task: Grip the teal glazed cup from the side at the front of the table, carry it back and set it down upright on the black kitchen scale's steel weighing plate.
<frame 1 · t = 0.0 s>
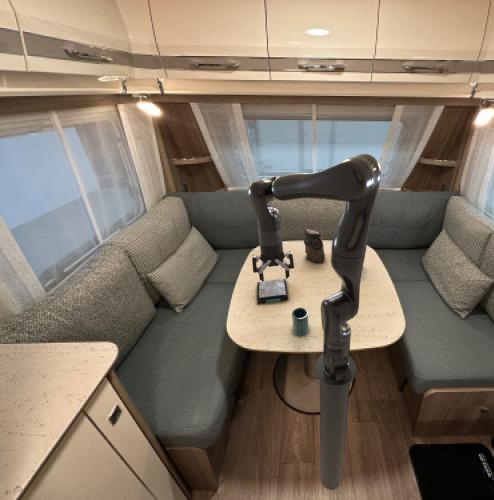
hand: (275, 278, 96), 31 cm above the table, tool pointing down, fingers open, 8 cm apart
owl: (317, 258, 167), on the table
cup: (300, 330, 116), on the table
mug: (355, 269, 156), on the table
scale: (272, 292, 138), on the table
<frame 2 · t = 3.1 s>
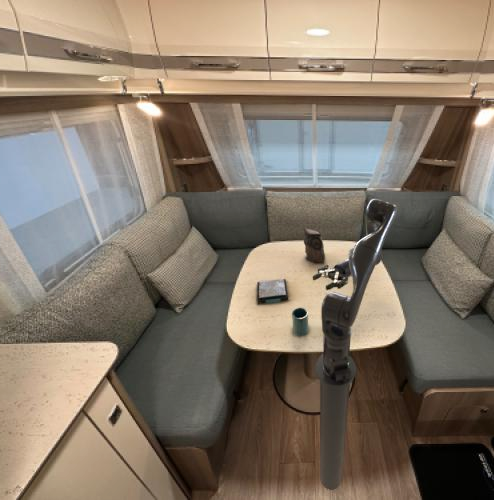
hand: (319, 283, 112), 20 cm above the table, tool horizontal, fingers open, 8 cm apart
nothing on the table moved.
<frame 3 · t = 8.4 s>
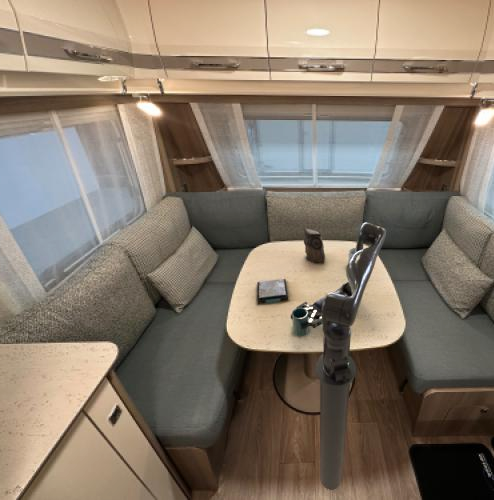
hand: (296, 322, 112), 6 cm above the table, tool horizontal, fingers closed on cup, 6 cm apart
cup: (300, 330, 116), on the table, touching gripper
everything else where it was.
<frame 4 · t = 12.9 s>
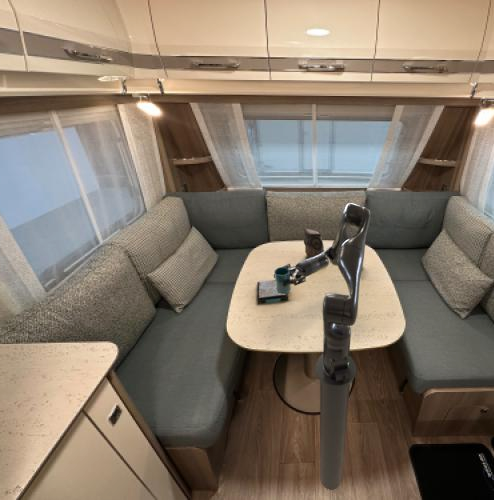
hand: (278, 280, 118), 18 cm above the table, tool horizontal, fingers closed on cup, 6 cm apart
cup: (283, 289, 122), point 12 cm above the table, touching gripper
everything else where it was.
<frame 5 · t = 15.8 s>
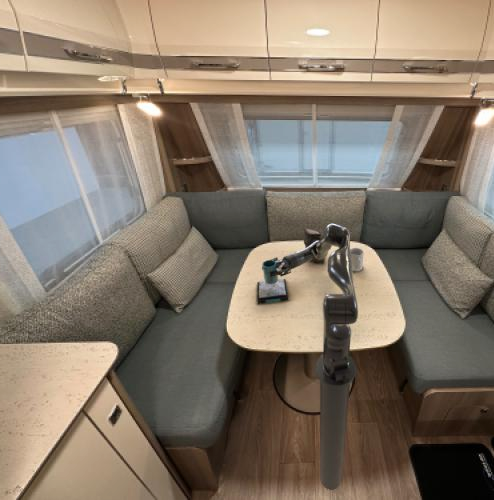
hand: (266, 272, 130), 14 cm above the table, tool horizontal, fingers closed on cup, 6 cm apart
cup: (271, 280, 134), point 8 cm above the table, touching gripper
everything else where it was.
when the fingers open (9 cm above the table, at t = 17.8 s): cup stays where it is, resting on scale.
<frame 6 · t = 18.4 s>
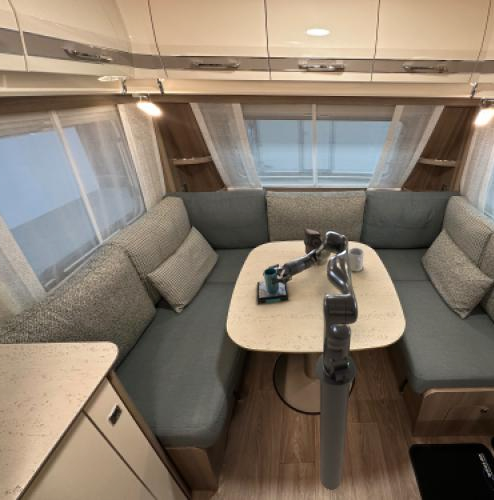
hand: (267, 278, 132), 10 cm above the table, tool horizontal, fingers open, 8 cm apart
cup: (272, 287, 137), point 3 cm above the table, touching scale
everything else where it was.
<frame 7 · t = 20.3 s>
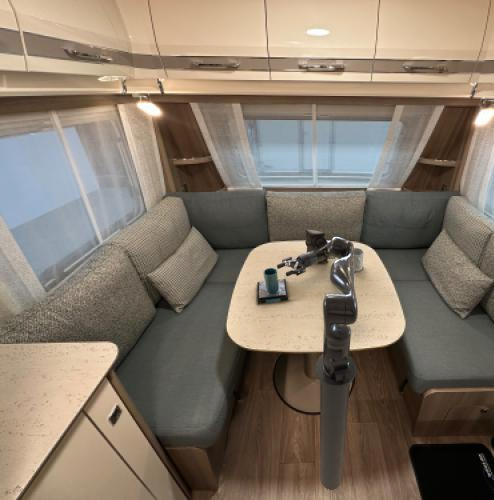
hand: (281, 270, 135), 12 cm above the table, tool horizontal, fingers open, 8 cm apart
owl: (319, 258, 167), on the table, touching arm
everything else where it was.
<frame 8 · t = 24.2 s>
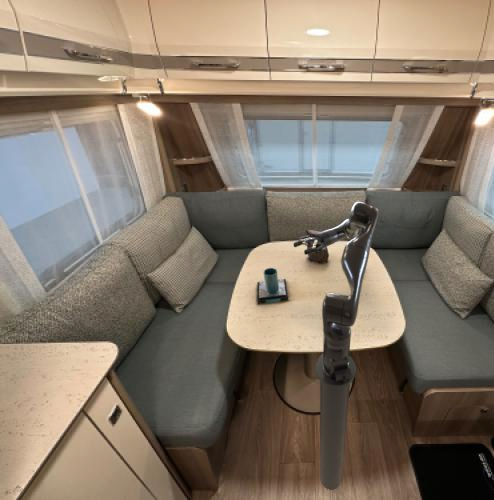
hand: (299, 248, 121), 28 cm above the table, tool horizontal, fingers open, 8 cm apart
owl: (319, 258, 167), on the table
everything else where it was.
at the end: cup inside the target area on the scale (0.1 cm from its centre), point 3.2 cm above the scale's base; cup tilted 0°; the gripper is holding nothing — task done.
